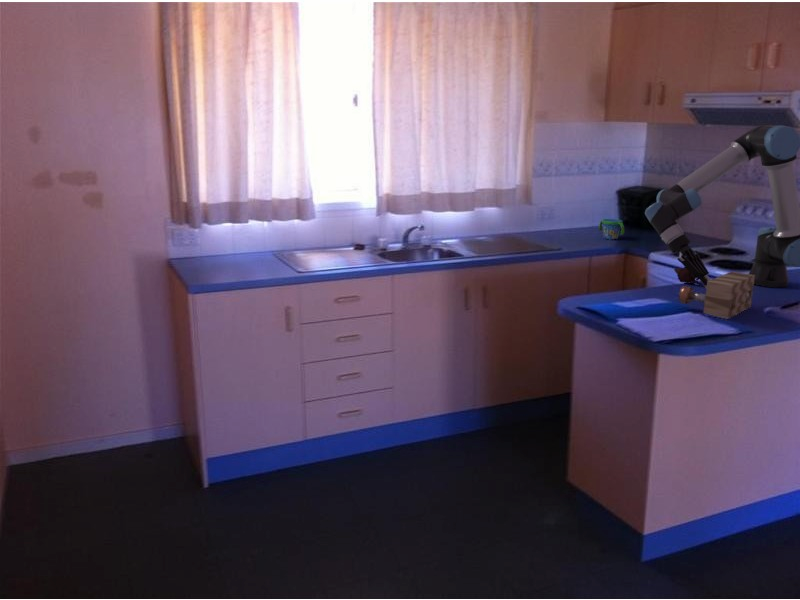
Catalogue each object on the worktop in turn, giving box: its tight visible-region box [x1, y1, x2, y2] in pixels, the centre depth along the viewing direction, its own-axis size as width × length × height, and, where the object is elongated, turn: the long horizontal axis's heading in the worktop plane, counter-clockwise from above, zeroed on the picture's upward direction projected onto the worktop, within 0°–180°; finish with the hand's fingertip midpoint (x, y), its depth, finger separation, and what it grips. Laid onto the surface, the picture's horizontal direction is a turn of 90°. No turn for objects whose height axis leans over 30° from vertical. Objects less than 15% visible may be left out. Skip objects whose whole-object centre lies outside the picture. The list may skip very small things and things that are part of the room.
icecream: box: [673, 266, 700, 285], centre depth 291 cm, size 7×7×15 cm
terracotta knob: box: [678, 285, 706, 305], centre depth 250 cm, size 6×10×6 cm, turn 46°
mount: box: [702, 271, 755, 319], centre depth 249 cm, size 22×8×12 cm, turn 136°
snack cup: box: [598, 218, 625, 241], centre depth 386 cm, size 16×10×10 cm
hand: (714, 291), depth 259 cm, fingers closed
